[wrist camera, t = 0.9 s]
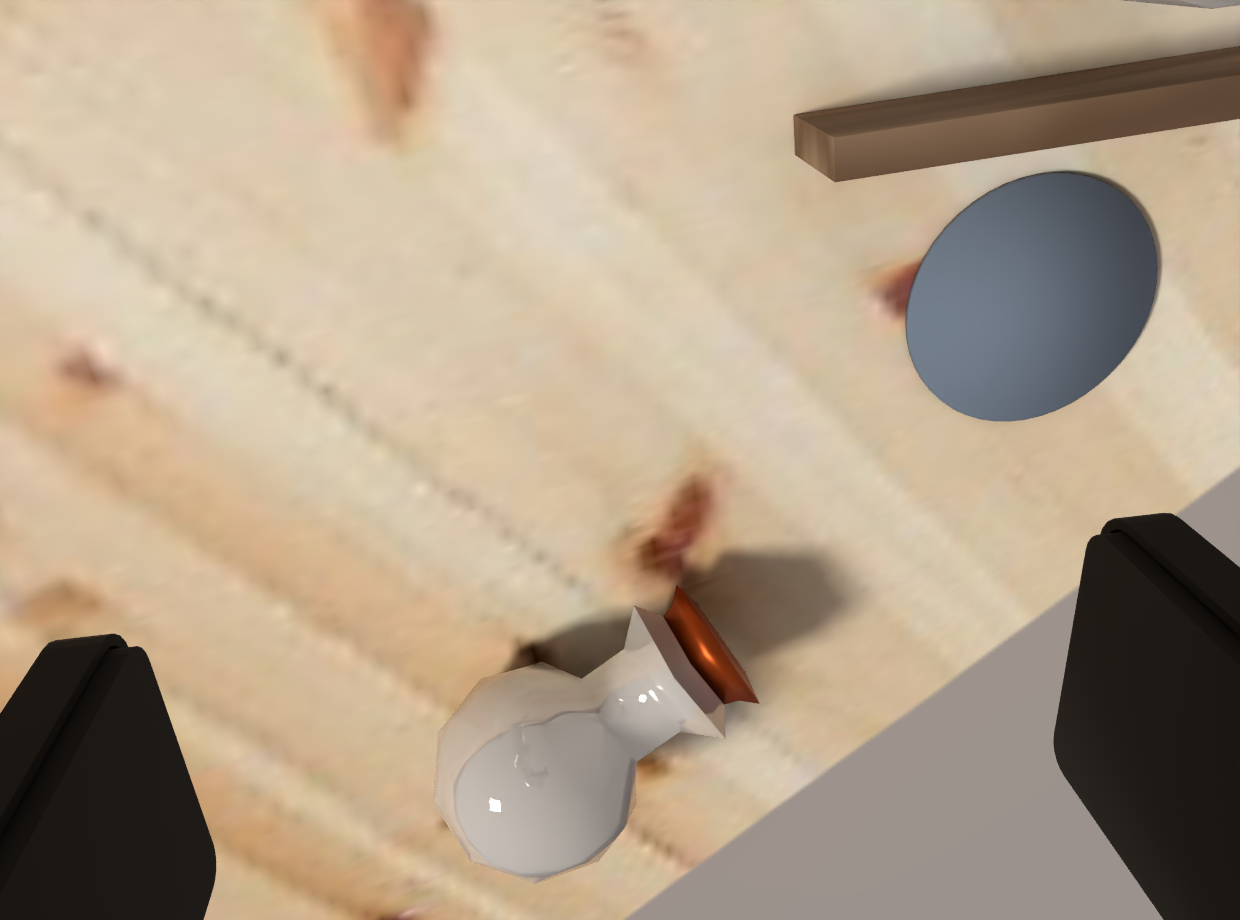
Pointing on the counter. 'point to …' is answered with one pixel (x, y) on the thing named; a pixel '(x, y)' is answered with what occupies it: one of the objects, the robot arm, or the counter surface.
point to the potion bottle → (577, 743)
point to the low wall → (1020, 115)
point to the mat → (1031, 296)
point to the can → (1195, 3)
